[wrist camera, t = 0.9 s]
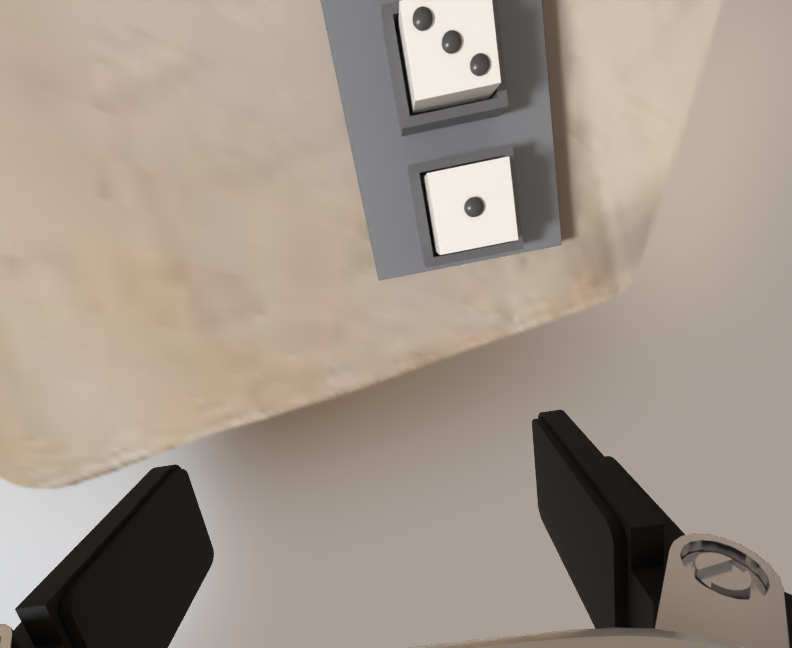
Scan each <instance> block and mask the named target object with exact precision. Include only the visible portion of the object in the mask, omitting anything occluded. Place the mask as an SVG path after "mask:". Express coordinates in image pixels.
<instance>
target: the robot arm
mask: <svg viewBox="0 0 792 648" xmlns="http://www.w3.org/2000/svg"><path fill="white" fill-rule="evenodd" d="M532 428H533V443H534V456H535V470H536V482H537V496H538V507H539V512H540V516H541V519H542V521H543V523H544V525H545V527H546V529H547V531H548V533H549V535H550V537H551V539H552V541H553V543H554V545H555V547H556V549H557V551H558V553H559V555H560V557H561V559H562V562H563V564H564V566H565V568H566V569H567V571H568V574H569V576H570V577H571V580H572V582H573V584H574V586H575V587H576V590H577V592H578V594H579V596H580V598H581V600H582V602H583V604H584V606H585V608H586V610H587V612H588V614H589V616H590V618H591V620H592V622H593V624H594V626H595V628H596V629H581V630H567V631H556V632H546V633H537V634H526V635H515V636H505V637H496V638H485V639H477V640H468V641H460V642H451V643H443V644H434V645H426V646H417V647H408V648H792V595H791V594H788V593H786V592H784V588H783V586H782V583H781V580H780V577H779V576H778V575H777V573H776V572H775V571H774V569H773V568H772V567H771V566H770V564H769V563H767V562H766V561H765V560H764V559H762V558H761V557H760V556H759V555H758V554H756V553H755V552H753V551H751V550H749V549H748V548H746V547H744V546H743V545H741V544H738V543H736V542H734V541H731V540H728V539H726V538H722V537H719V536H714V535H709V534H694V533H693V534H689V535H685V534H684V533H683V532H682V531H681V530H680V529H679V528H678V526H677V525H676V524H675V523H674V522H673V521H672V520H671V519H670V518H669V517H668V516H667V515H666V514H665V512H664V511H663V510H662V509H661V508H660V507H659V506H658V505H657V504H656V503H655V502H654V501H653V500H652V499H651V497H650V496H649V495H648V494H647V493H646V492H645V491H644V490H643V489H642V488H641V487H640V486H639V484H638V483H637V482H636V481H635V480H634V479H633V478H632V477H631V476H630V475H629V474H628V473H627V472H626V470H625V469H624V468H623V467H622V466H621V465H620V464H619V463H618V462H617V461H616V460H615V459H614V458H613V457H609V456H606V457H604V456H603V455H602V453H601V452H600V451H599V450H598V449H597V448H596V447H595V446H594V444H593V443H592V442H591V441H590V440H589V439H588V438H587V437H586V435H585V434H584V433H583V432H582V431H581V430H580V429H579V428H578V427H577V425H576V424H575V423H574V422H573V421H572V420H571V419H570V418H569V416H568V415H567V414H566V413H565V412H564V411H563V410H556V411H549V412H541V413H539V416H538V419H533V421H532ZM213 557H214V552H213V547H212V544H211V541H210V538H209V535H208V532H207V529H206V526H205V523H204V520H203V517H202V514H201V511H200V509H199V506H198V503H197V499H196V497H195V493H194V490H193V488H192V485H191V482H190V479H189V476H188V473H187V471H186V470H184V469H181V468H180V467H179V466H178V465H170V466H163V467H156V468H153V469H152V470H150V471H149V472H148V473H147V474H146V476H144V477H143V478H142V480H141V481H140V482H139V483H138V484H137V485H136V486H135V487H134V488H133V489H132V490H131V491H130V492H129V493H128V494H127V495H126V496H125V497H124V498H123V499H122V500H121V501H120V502H119V503H118V504H117V505H116V506H115V507H114V508H113V509H112V510H111V511H110V512H109V513H108V514H107V515H106V516H105V517H104V519H102V521H100V523H99V524H98V525H97V526H96V527H95V528H94V529H93V530H92V531H91V532H90V533H89V534H88V535H87V536H86V537H85V538H84V539H83V540H82V541H81V542H80V543H79V544H78V545H77V546H76V547H75V548H74V549H73V550H72V551H71V552H70V553H69V554H68V555H67V556H66V557H65V558H64V560H62V562H61V563H60V564H59V565H58V566H57V567H56V568H55V569H54V570H53V571H52V572H51V573H50V574H49V575H48V576H47V577H46V578H45V579H44V580H43V581H42V582H41V583H40V584H39V585H38V586H37V587H36V588H35V589H34V590H33V591H32V592H31V593H30V594H29V595H28V596H27V597H26V598H25V600H23V601H22V602H21V604H20V605H19V606H18V607H17V608H16V609H15V610H16V612H17V614H18V616H19V618H20V620H21V623H20V624H19V625H18V626H17V627H16V629H15V630H14V631H13V630H12V628H11V627H9V626H8V625H6V624H0V648H168V646H169V644H170V642H171V640H172V639H173V637H174V635H175V633H176V631H177V629H178V627H179V625H180V623H181V622H182V620H183V618H184V616H185V614H186V612H187V610H188V608H189V607H190V605H191V603H192V601H193V599H194V597H195V595H196V593H197V591H198V590H199V587H200V586H201V584H202V582H203V580H204V578H205V576H206V574H207V572H208V571H209V569H210V567H211V564H212V562H213Z"/></svg>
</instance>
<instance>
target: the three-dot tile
mask: <svg viewBox="0 0 792 648" xmlns="http://www.w3.org/2000/svg"><path fill="white" fill-rule="evenodd" d="M398 28H399V34H400V40H401V46H402V52H403V58H404V64H405V70H406V76H407V82H408V88H409V94H410V100H411V106H412V112H413V114H417V113H421V112H426V111H431V110H435V109H440V108H445V107H450V106H454V105H459V104H464V103H468V102H473V101H478V100H483V99H487V98H489V97H490V96H491V95H492V93H493V92H494V91H495V90H496V88H497V87H498V86H499V85H500V83H501V77H500V68H499V59H498V50H497V41H496V32H495V23H494V14H493V5H492V0H401V1H399V23H398Z"/></svg>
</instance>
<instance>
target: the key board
mask: <svg viewBox="0 0 792 648" xmlns="http://www.w3.org/2000/svg"><path fill="white" fill-rule="evenodd" d="M399 1H401V0H321V5H322V9H323V14H324V19H325V24H326V29H327V34H328V38H329V43H330V48H331V53H332V58H333V63H334V67H335V72H336V77H337V82H338V87H339V92H340V96H341V101H342V106H343V111H344V116H345V121H346V125H347V130H348V135H349V140H350V145H351V150H352V154H353V159H354V164H355V169H356V174H357V178H358V183H359V188H360V193H361V198H362V203H363V207H364V212H365V217H366V222H367V227H368V232H369V236H370V241H371V246H372V251H373V256H374V261H375V265H376V270H377V275H378V280H379V281H380V280H385V279H390V278H395V277H400V276H405V275H410V274H415V273H421V272H426V271H431V270H436V269H441V268H446V267H451V266H457V265H462V264H467V263H472V262H477V261H482V260H487V259H492V258H498V257H503V256H508V255H513V254H518V253H523V252H528V251H534V250H539V249H544V248H549V247H554V246H559V245H562V243H561V231H560V219H559V207H558V194H557V182H556V170H555V158H554V146H553V133H552V121H551V109H550V97H549V85H548V72H547V60H546V48H545V36H544V23H543V11H542V0H492V5H493V14H494V23H495V32H496V41H497V50H498V59H499V68H500V77H501V83H500V85H499V86H498V87H497V88H496V90H495V91H494V92H493V93H492V95H491V96H490V97H489V98H487V99H483V100H478V101H473V102H468V103H464V104H459V105H454V106H450V107H445V108H440V109H435V110H431V111H426V112H421V113H417V114H413V112H412V106H411V100H410V94H409V88H408V82H407V76H406V70H405V64H404V58H403V52H402V46H401V40H400V34H399V28H398V23H399ZM508 156H509V159H510V168H511V177H512V186H513V196H514V205H515V214H516V223H517V232H518V240H515V241H510V242H505V243H499V244H494V245H489V246H484V247H479V248H474V249H469V250H464V251H459V252H454V253H448V254H443V255H440V254H438V253H437V252H436V251H435V245H434V239H433V233H432V227H431V221H430V215H429V209H428V203H427V197H426V191H425V185H424V179H423V178H424V177H425V175H426V174H427V173H430V172H435V171H440V170H445V169H450V168H455V167H459V166H464V165H469V164H474V163H479V162H484V161H489V160H494V159H498V158H503V157H508Z"/></svg>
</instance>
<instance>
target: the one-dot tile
mask: <svg viewBox="0 0 792 648" xmlns="http://www.w3.org/2000/svg"><path fill="white" fill-rule="evenodd" d="M423 179H424V185H425V191H426V197H427V203H428V209H429V215H430V221H431V227H432V233H433V239H434V245H435V251H436V252H437V253H438V254H440V255H443V254H448V253H454V252H459V251H464V250H469V249H474V248H479V247H484V246H489V245H494V244H499V243H505V242H510V241H515V240H518V232H517V223H516V214H515V205H514V196H513V186H512V177H511V168H510V159H509V156H508V157H503V158H498V159H494V160H489V161H484V162H479V163H474V164H469V165H464V166H459V167H455V168H450V169H445V170H440V171H435V172H430V173H427V174H426V175H425V177H424V178H423Z"/></svg>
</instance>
